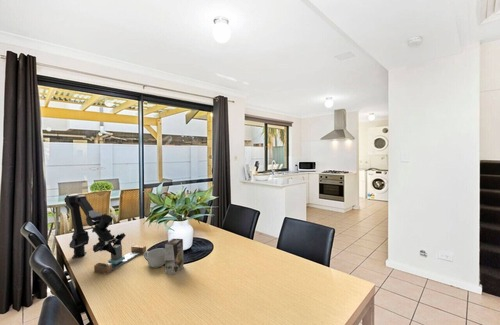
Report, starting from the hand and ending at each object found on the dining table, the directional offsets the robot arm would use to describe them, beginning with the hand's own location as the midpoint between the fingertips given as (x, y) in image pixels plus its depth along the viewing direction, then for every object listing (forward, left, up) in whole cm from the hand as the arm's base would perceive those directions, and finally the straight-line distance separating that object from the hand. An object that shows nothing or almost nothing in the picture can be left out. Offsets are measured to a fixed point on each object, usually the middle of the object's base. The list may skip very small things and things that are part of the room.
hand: (118, 253), depth 140 cm
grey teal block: (-1, -1, -5) cm, 5 cm away
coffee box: (+20, +30, -7) cm, 36 cm away
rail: (-4, +1, -7) cm, 8 cm away
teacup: (+9, +20, -7) cm, 23 cm away
